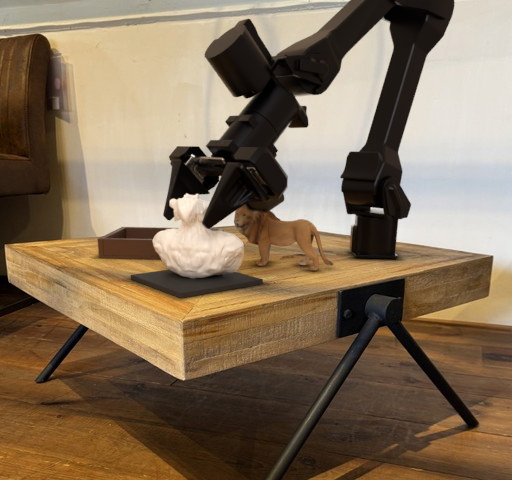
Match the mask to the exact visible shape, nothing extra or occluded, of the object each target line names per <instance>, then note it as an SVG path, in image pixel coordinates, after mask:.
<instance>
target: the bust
mask: <svg viewBox="0 0 512 480" xmlns="http://www.w3.org/2000/svg"><path fill="white" fill-rule="evenodd" d="M210 201H211V200H209V201H208V200H204V199H202V198H200V195H199V194H196V195H190V194H188V193H186V195H184V197H183V198H179V199H177V200H176V199H171V200H170V204H169V205H170V207H171V208H173V209H174V218H173V222H178V221H180V220H181V222H180V223H181V224H180V226H179V227H174V228H175V229H166V230H163V231H160V232H158V233H157V234H156V235H155V236H154V238H153V240H152V242H153V246H154V248H155V251H156V252H157V253H158V254H159V256H160V258H161V259H160V260H161V262H162V264H163V265H164V267H165V268H166V269H167V270H171V271H173V272H175V273H177V274H179V275H180V276H182V277H188V278H192V279H195V278H205V277H208V276H212V275H221V274H227V273H234V272H238V271H239V269H240V267H241V265H242V263H243V260H244V254H245V247H244V246H245V244H244V242H243V240H242V239H241V238H239V237H238V236H237V235H236V234H234V233H232V232H228V231H225V230H224V231H218V230H215V231H212V230H210V229H207V228H206V227H205V226H204V225H203V224H202V221H203V218H204V216H205V213H206V210H207V208H208V206H209V203H210ZM176 228H178V229H176Z"/></svg>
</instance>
